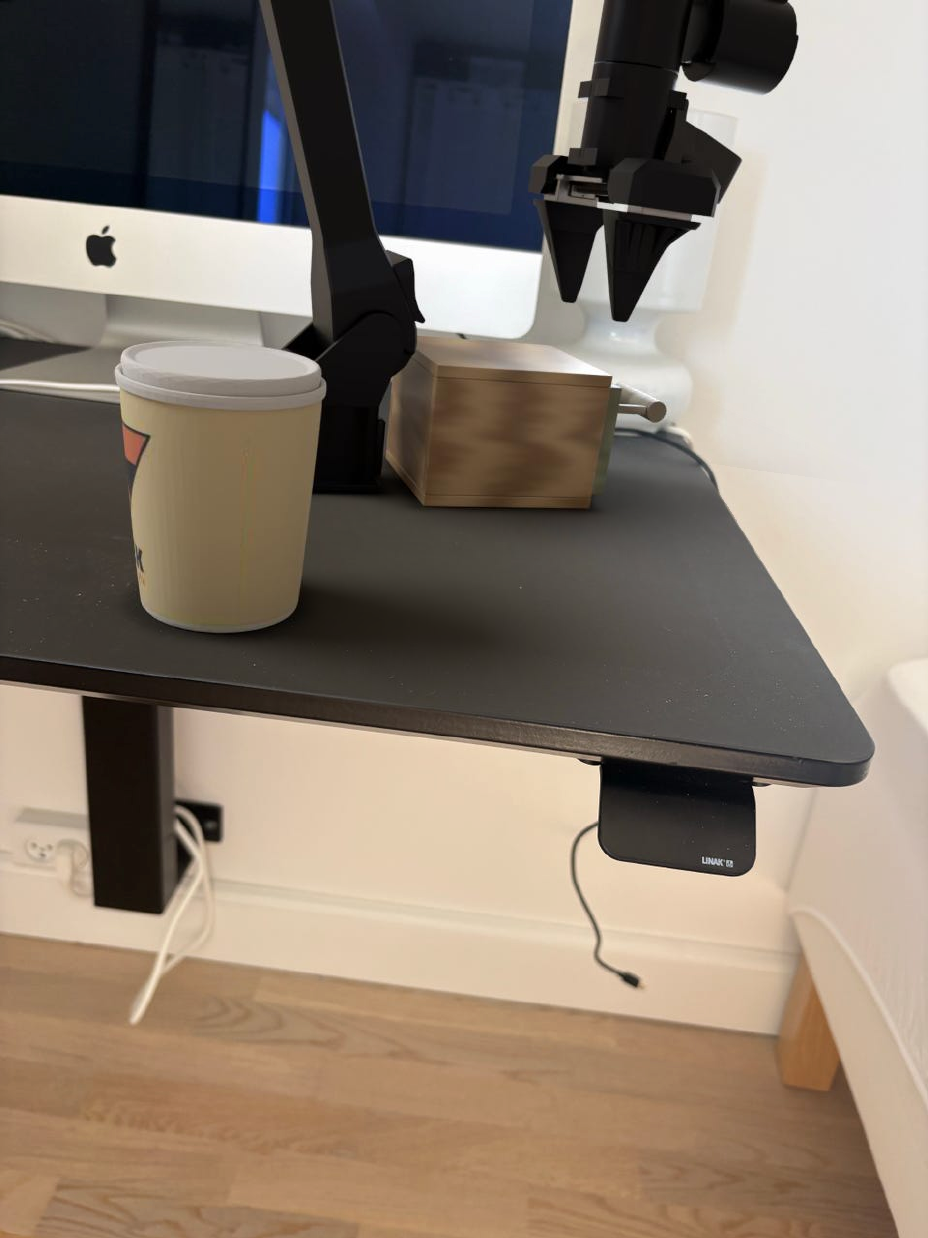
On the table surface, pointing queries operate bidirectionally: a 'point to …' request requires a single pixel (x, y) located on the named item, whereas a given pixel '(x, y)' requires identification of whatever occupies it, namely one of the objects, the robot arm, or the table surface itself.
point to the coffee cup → (219, 478)
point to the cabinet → (496, 424)
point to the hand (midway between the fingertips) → (592, 311)
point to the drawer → (620, 402)
